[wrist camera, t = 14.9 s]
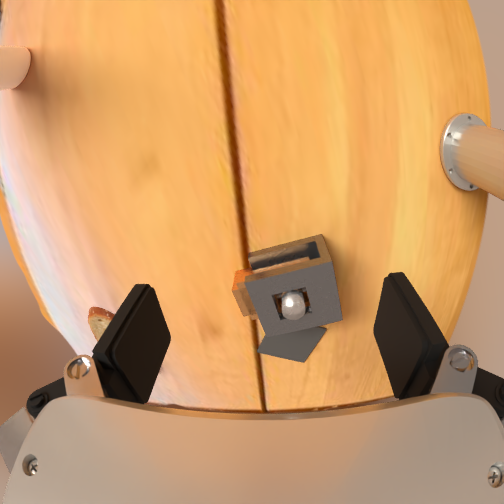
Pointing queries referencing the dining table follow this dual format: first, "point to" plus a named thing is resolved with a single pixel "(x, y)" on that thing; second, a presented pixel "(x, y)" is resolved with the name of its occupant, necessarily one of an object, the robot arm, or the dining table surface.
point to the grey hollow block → (289, 285)
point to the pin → (293, 304)
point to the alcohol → (13, 66)
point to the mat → (292, 344)
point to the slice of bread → (99, 320)
